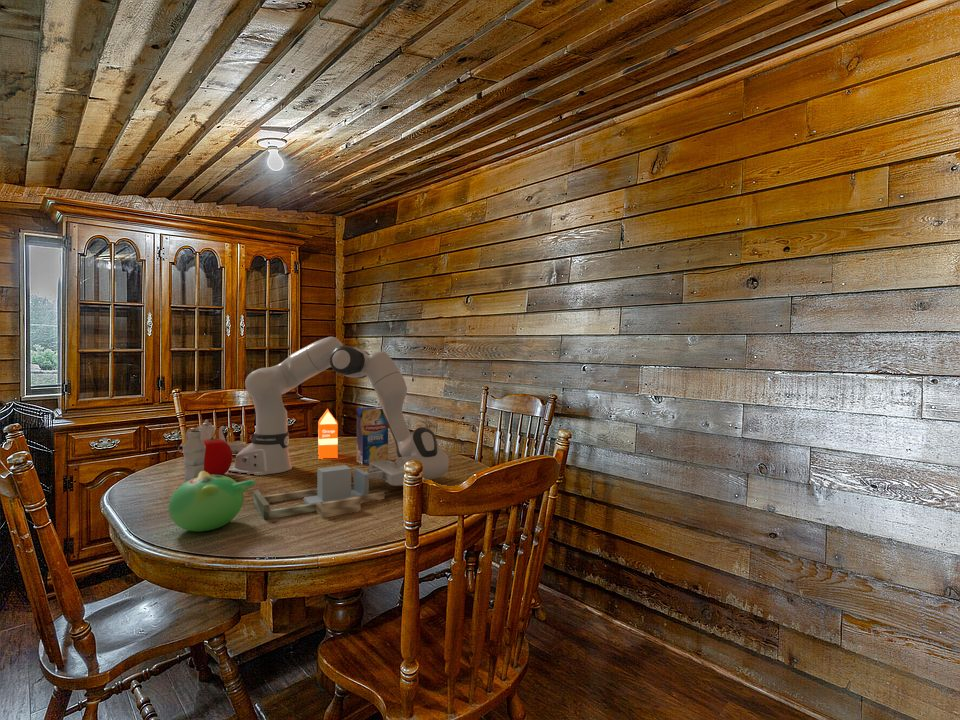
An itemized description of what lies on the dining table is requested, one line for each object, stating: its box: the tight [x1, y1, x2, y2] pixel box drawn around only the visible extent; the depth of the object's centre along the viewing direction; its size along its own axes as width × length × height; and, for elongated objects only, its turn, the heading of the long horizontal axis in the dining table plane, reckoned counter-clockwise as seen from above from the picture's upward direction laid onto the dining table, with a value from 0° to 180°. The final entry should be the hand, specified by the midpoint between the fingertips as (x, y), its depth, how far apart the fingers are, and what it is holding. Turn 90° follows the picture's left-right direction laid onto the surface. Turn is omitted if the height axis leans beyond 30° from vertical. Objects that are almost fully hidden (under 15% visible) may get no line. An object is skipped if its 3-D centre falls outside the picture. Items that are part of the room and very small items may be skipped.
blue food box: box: [356, 405, 389, 466], centre depth 213 cm, size 7×11×22 cm, turn 124°
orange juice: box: [317, 408, 339, 460], centre depth 221 cm, size 8×9×20 cm
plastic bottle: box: [182, 429, 206, 484], centre depth 167 cm, size 6×7×20 cm
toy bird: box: [168, 471, 257, 533], centre depth 138 cm, size 18×17×15 cm
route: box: [252, 482, 385, 521], centre depth 158 cm, size 36×23×4 cm, turn 124°
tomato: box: [203, 437, 233, 476], centre depth 188 cm, size 13×11×14 cm
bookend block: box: [302, 464, 370, 504], centre depth 164 cm, size 18×10×10 cm, turn 123°
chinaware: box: [177, 419, 247, 454], centre depth 218 cm, size 28×17×17 cm, turn 98°
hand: (366, 474), depth 170 cm, fingers closed
